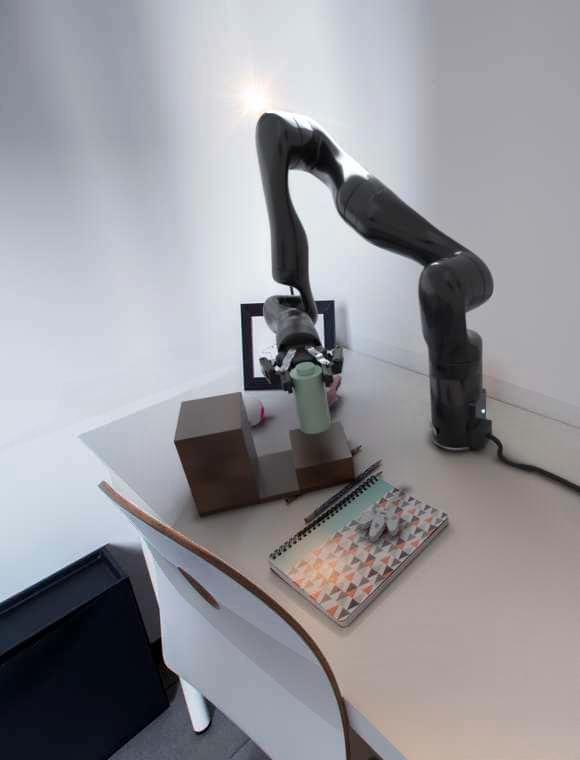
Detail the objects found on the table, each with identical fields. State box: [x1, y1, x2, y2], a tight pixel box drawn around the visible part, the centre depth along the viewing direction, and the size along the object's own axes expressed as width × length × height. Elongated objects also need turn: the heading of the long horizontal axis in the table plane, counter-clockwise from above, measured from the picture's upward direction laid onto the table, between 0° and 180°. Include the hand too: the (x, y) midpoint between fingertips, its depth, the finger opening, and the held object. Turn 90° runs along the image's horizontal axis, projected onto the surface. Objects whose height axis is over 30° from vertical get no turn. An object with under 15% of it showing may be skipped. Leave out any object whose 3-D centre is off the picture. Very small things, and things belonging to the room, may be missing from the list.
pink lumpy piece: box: [325, 374, 343, 409], centre depth 109 cm, size 10×5×7 cm, turn 179°
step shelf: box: [173, 391, 357, 518], centre depth 85 cm, size 24×12×14 cm, turn 109°
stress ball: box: [242, 394, 270, 427], centre depth 104 cm, size 8×8×7 cm
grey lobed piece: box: [359, 487, 405, 543], centre depth 79 cm, size 6×12×3 cm, turn 0°
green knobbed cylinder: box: [289, 362, 332, 434], centre depth 84 cm, size 5×5×11 cm
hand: (308, 384), depth 80 cm, fingers closed on green knobbed cylinder, 5 cm apart
